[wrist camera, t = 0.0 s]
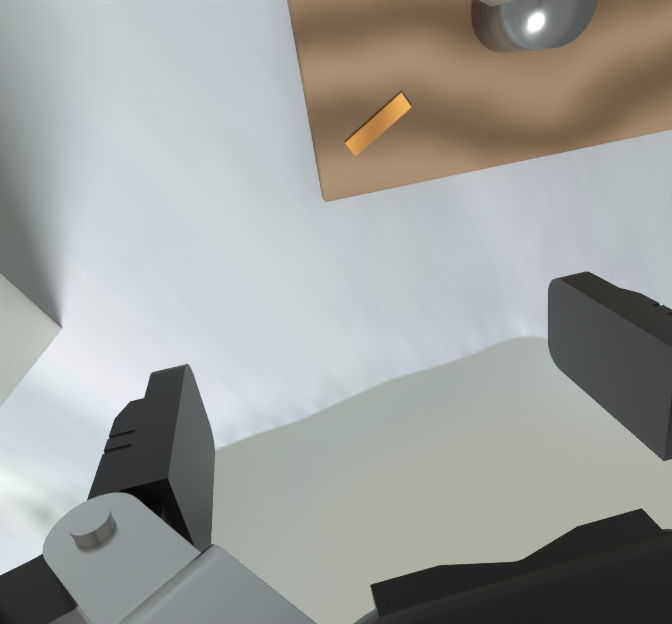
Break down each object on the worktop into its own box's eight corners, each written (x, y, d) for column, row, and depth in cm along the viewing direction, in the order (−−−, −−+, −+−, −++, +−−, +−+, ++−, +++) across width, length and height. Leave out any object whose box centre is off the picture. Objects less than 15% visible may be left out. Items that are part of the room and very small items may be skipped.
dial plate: (262, -139, 31) (264, -150, 30) (697, -202, 34) (719, -216, 32) (322, 197, 40) (326, 202, 38) (666, 125, 42) (683, 127, 41)
